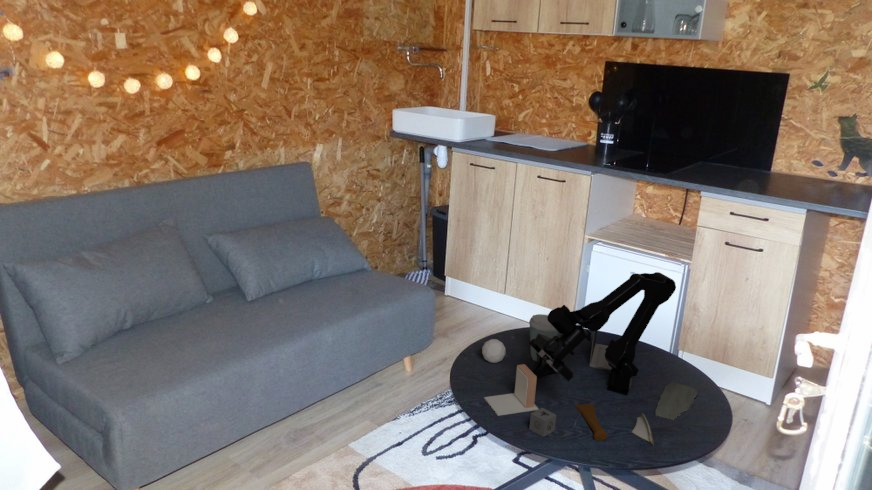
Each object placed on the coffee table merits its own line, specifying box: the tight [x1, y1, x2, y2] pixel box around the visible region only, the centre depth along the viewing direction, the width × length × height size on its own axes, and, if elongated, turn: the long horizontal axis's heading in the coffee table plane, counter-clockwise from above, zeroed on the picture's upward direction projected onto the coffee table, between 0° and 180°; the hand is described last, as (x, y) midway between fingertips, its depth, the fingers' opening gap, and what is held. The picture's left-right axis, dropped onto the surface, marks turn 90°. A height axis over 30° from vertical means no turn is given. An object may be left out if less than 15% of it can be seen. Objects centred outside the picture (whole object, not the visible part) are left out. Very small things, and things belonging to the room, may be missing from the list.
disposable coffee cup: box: [528, 313, 560, 362], centre depth 234 cm, size 11×11×15 cm
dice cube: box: [528, 407, 557, 437], centre depth 194 cm, size 5×5×5 cm
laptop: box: [589, 331, 612, 371], centre depth 237 cm, size 18×12×13 cm
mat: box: [483, 392, 539, 417], centre depth 207 cm, size 13×10×1 cm
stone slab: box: [654, 382, 699, 421], centre depth 212 cm, size 22×3×10 cm
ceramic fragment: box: [631, 413, 655, 447], centre depth 196 cm, size 14×5×4 cm, turn 176°
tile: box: [514, 363, 538, 408], centre depth 207 cm, size 3×8×10 cm, turn 19°
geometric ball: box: [481, 338, 506, 364], centre depth 232 cm, size 8×8×8 cm
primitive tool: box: [574, 403, 608, 442], centre depth 199 cm, size 19×6×4 cm, turn 5°
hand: (530, 379), depth 206 cm, fingers closed, pressing on tile
